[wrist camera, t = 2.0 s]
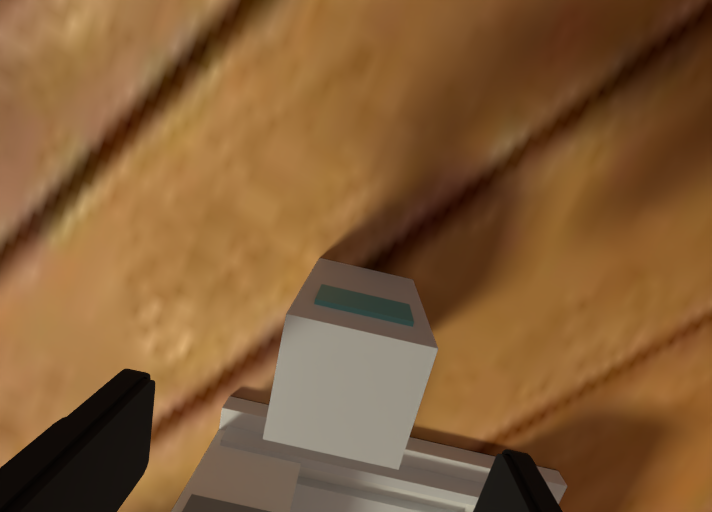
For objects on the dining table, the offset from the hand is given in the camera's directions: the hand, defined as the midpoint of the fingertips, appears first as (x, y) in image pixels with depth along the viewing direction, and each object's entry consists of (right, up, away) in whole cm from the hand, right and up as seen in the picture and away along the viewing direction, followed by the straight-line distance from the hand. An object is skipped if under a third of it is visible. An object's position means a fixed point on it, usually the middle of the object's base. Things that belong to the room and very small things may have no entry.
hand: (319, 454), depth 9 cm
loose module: (+1, +2, +9) cm, 10 cm away
